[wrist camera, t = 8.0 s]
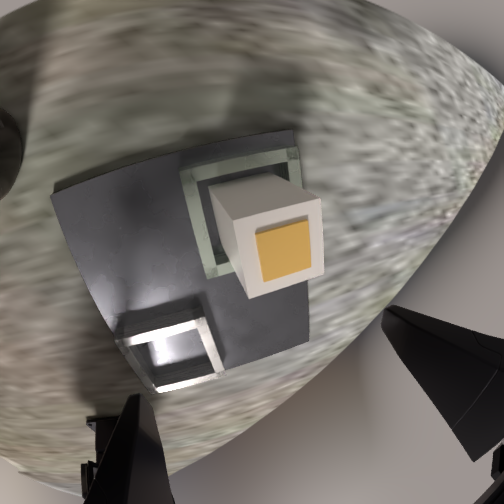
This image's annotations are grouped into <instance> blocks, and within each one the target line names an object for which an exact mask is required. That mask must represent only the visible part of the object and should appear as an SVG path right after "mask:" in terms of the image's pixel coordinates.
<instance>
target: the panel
mask: <svg viewBox="0 0 504 504" xmlns="http://www.w3.org/2000/svg"><path fill="white" fill-rule="evenodd" d="M266 172H270V173H273V174H275V175H277V176H279V177H281V178H283V179H285V180H287V181H289V182H291V183H293V184H295V185H297V186H298V187H300V188H302V179H301V169H300V160H299V151H298V147H297V146H295V143H294V135H293V130H291V129H288V130H280V131H274V132H267V133H261V134H255V135H249V136H244V137H238V138H233V139H228V140H223V141H218V142H214V143H209V144H205V145H200V146H196V147H192V148H188V149H184V150H180V151H176V152H172V153H169V154H165V155H161V156H158V157H154V158H151V159H147V160H144V161H141V162H137V163H134V164H131V165H128V166H125V167H122V168H119V169H116V170H113V171H110V172H107V173H104V174H101V175H99V176H96V177H93V178H90V179H88V180H85V181H82V182H80V183H77V184H75V185H72V186H70V187H67V188H65V189H62V190H60V191H58V192H55V193H53V194H52V195H50V198H51V201H52V204H53V206H54V209H55V212H56V215H57V218H58V221H59V223H60V226H61V228H62V231H63V234H64V236H65V239H66V241H67V243H68V246H69V248H70V251H71V253H72V255H73V258H74V260H75V262H76V264H77V266H78V269H79V271H80V273H81V275H82V277H83V279H84V281H85V283H86V285H87V287H88V289H89V291H90V293H91V295H92V297H93V299H94V301H95V303H96V305H97V307H98V308H99V310H100V312H101V314H102V316H103V317H104V319H105V321H106V323H107V324H108V326H109V328H110V330H111V331H112V333H113V335H114V336H115V339H114V342H115V343H116V345H117V346H118V348H119V349H120V351H121V353H122V354H123V356H124V357H125V359H126V360H127V362H128V363H129V365H130V366H131V367H132V369H133V370H134V372H135V373H136V375H137V376H138V377H139V379H140V380H141V382H142V383H143V384H144V386H145V387H146V388H147V390H148V391H149V392H150V394H151V395H152V394H156V393H161V392H165V391H170V390H174V389H178V388H182V387H186V386H190V385H194V384H198V383H201V382H205V381H209V380H212V379H216V378H219V377H223V376H226V372H225V370H227V369H230V368H234V367H237V366H240V365H243V364H246V363H249V362H252V361H256V360H258V359H261V358H264V357H267V356H270V355H273V354H276V353H279V352H281V351H284V350H287V349H290V348H292V347H295V346H297V345H300V344H303V343H305V342H308V341H309V317H308V293H307V280H305V281H302V282H299V283H296V284H293V285H290V286H288V287H285V288H282V289H279V290H276V291H272V292H269V293H266V294H263V295H260V296H257V297H254V298H251V299H249V298H248V296H247V294H246V292H245V290H244V288H243V286H242V284H241V282H240V280H239V278H238V276H237V274H236V272H235V270H234V268H233V266H232V264H231V262H230V260H229V258H228V256H227V254H226V252H225V250H224V248H223V246H222V244H221V241H220V237H219V232H218V228H217V224H216V219H215V215H214V211H213V206H212V202H211V197H210V193H209V188H208V186H211V185H215V184H219V183H223V182H227V181H231V180H235V179H239V178H244V177H248V176H252V175H257V174H262V173H266Z"/></svg>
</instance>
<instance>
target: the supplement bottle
mask: <svg viewBox="0 0 504 504" xmlns="http://www.w3.org/2000/svg"><path fill="white" fill-rule="evenodd" d="M21 156H22V144H21V137H20V132H19V129H18V126H17V124H16V122H15V120H14V119H13V117H12V116H11V115H10V114H9V113H8V112H7V111H5V110H3V109H1V108H0V200H2V199H3V198H4V197H5V196H6V195H7V194H8V192H9V191H10V190H11V188H12V186H13V185H14V183H15V180H16V178H17V175H18V172H19V169H20V164H21Z"/></svg>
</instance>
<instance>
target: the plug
mask: <svg viewBox="0 0 504 504" xmlns="http://www.w3.org/2000/svg"><path fill="white" fill-rule="evenodd" d="M208 188H209V193H210V197H211V202H212V206H213V211H214V215H215V219H216V224H217V228H218V232H219V237H220V241H221V244H222V246H223V248H224V250H225V252H226V254H227V256H228V258H229V260H230V262H231V264H232V266H233V268H234V270H235V272H236V274H237V276H238V278H239V280H240V282H241V284H242V286H243V288H244V290H245V292H246V294H247V296H248V298H249V299H251V298H254V297H257V296H260V295H263V294H266V293H269V292H272V291H276V290H279V289H282V288H285V287H288V286H290V285H293V284H296V283H299V282H302V281H305V280H308V279H311V278H314V277H317V276H319V275H322V274H324V249H323V227H322V210H321V198H319V197H318V196H316V195H314V194H312V193H310V192H308V191H306V190H304V189H302V188H300V187H298V186H297V185H295V184H293V183H291V182H289V181H287V180H285V179H283V178H281V177H279V176H277V175H275V174H273V173H270V172H266V173H262V174H257V175H252V176H248V177H244V178H239V179H235V180H231V181H227V182H223V183H219V184H215V185H211V186H208Z"/></svg>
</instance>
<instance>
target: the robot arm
mask: <svg viewBox="0 0 504 504" xmlns="http://www.w3.org/2000/svg"><path fill="white" fill-rule="evenodd" d="M381 328H382V330H383V332H384V333H385V335H386V336H387V338H388V340H389V341H390V343H391V344H392V346H393V348H394V350H395V351H396V353H397V355H398V356H399V358H400V359H401V360H402V362H403V363H404V364H405V366H406V367H407V368H408V370H409V371H410V372H411V374H412V375H413V376H414V378H415V379H416V380H417V382H418V383H419V384H420V386H421V387H422V388H423V390H424V391H425V392H426V394H427V395H428V397H429V398H430V400H431V401H432V402H433V404H434V405H435V406H436V408H437V409H438V411H439V412H440V414H441V415H442V417H443V418H444V419H445V420H446V422H447V424H448V425H449V427H450V428H451V429H452V431H453V433H454V434H455V436H456V437H457V439H458V440H459V442H460V443H461V445H462V446H463V447H464V449H465V451H466V452H467V454H468V455H469V457H470V458H471V460H472V461H473V462H475V461H476V460H478V459H479V458H480V457H482V456H483V455H484V454H486V453H487V452H488V451H489V450H491V449H492V448H493V447H494V446H496V445H497V444H498V443H499V442H500V441H501V444H500V445H499V446H498V447H497V448H496V450H495V451H494V452H493V462H492V470H491V477H492V478H493V479H494V480H495V482H494V483H493V484H492V485H491V486H490V487H489V488H488V489H487V490H486V492H484V494H483V495H482V496H481V497H480V498H479V499H478V500H477V501H476V502H475V503H474V504H504V339H501V338H497V337H493V336H489V335H485V334H482V333H479V332H476V331H473V330H472V331H471V330H470V329H467V328H463V327H460V326H457V325H454V324H451V323H448V322H445V321H442V320H439V319H436V318H433V317H430V316H427V315H424V314H421V313H418V312H415V311H412V310H408V309H405V308H403V307H400V306H397V305H390V306H388V307H386V308H385V309H384V311H383V316H382V322H381ZM86 425H87V426H88V427H90V428H91V429H92V430H93V431H94V432H95V451H96V463H94V462H93V461H89V460H88V464H87V463H86V464H81V486H82V497H83V498H84V499H85V501H84V503H83V504H175V501H174V498H173V495H172V493H171V489H170V484H169V479H168V474H167V469H166V463H165V457H164V451H163V447H162V443H161V439H160V436H159V432H158V428H157V424H156V420H155V416H154V412H153V409H152V407H151V405H150V404H149V403H148V401H147V400H146V399H145V397H144V396H143V395H142V394H140V393H138V394H133V395H130V396H129V397H128V399H127V402H126V404H125V406H124V408H123V410H122V413H121V415H120V416H118V417H111V418H103V419H94V420H87V421H86ZM94 478H95V479H94Z"/></svg>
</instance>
